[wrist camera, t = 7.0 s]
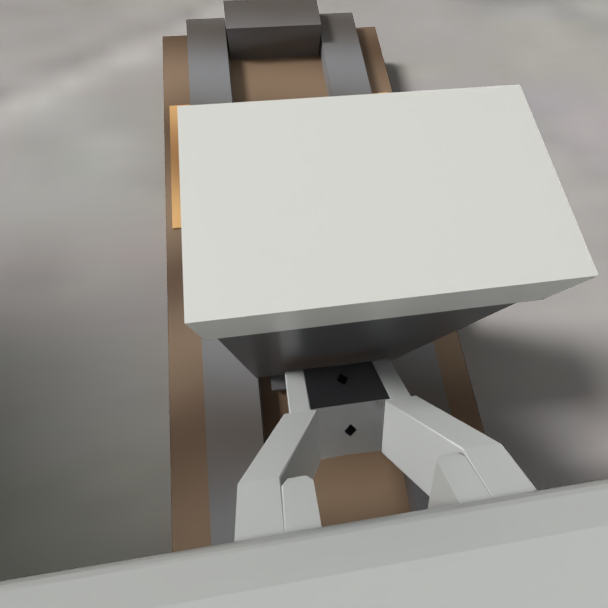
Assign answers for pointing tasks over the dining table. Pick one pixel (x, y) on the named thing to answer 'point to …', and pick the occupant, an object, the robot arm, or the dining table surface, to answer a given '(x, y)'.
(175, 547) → the fader console
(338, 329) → the fader knob
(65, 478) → the dining table surface
